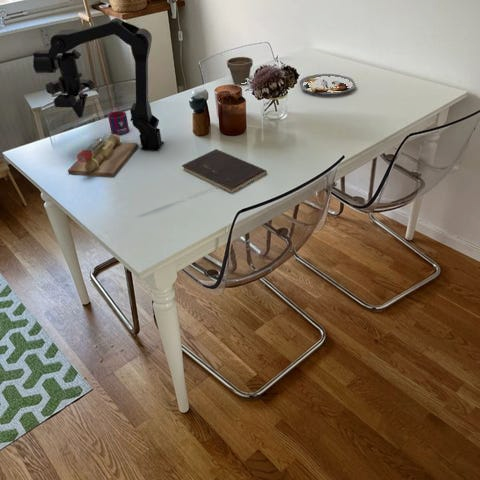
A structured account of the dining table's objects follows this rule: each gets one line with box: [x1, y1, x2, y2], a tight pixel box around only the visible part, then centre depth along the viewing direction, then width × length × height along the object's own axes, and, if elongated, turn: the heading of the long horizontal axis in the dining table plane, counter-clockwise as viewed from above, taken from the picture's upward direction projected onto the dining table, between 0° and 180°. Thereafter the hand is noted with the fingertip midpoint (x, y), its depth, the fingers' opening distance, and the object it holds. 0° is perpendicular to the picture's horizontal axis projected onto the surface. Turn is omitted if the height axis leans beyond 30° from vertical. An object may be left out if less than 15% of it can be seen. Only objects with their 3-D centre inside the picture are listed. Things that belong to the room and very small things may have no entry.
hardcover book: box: [181, 148, 268, 194], centre depth 166 cm, size 16×23×2 cm
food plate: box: [299, 73, 357, 95], centre depth 222 cm, size 25×23×4 cm
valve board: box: [67, 133, 139, 178], centre depth 175 cm, size 16×22×6 cm
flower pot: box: [226, 56, 254, 85], centre depth 229 cm, size 12×11×10 cm
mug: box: [107, 110, 130, 136], centre depth 195 cm, size 7×10×7 cm
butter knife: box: [178, 186, 217, 203], centre depth 153 cm, size 1×27×3 cm
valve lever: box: [76, 136, 106, 162], centre depth 168 cm, size 14×3×2 cm, turn 165°
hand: (80, 117), depth 178 cm, fingers closed
